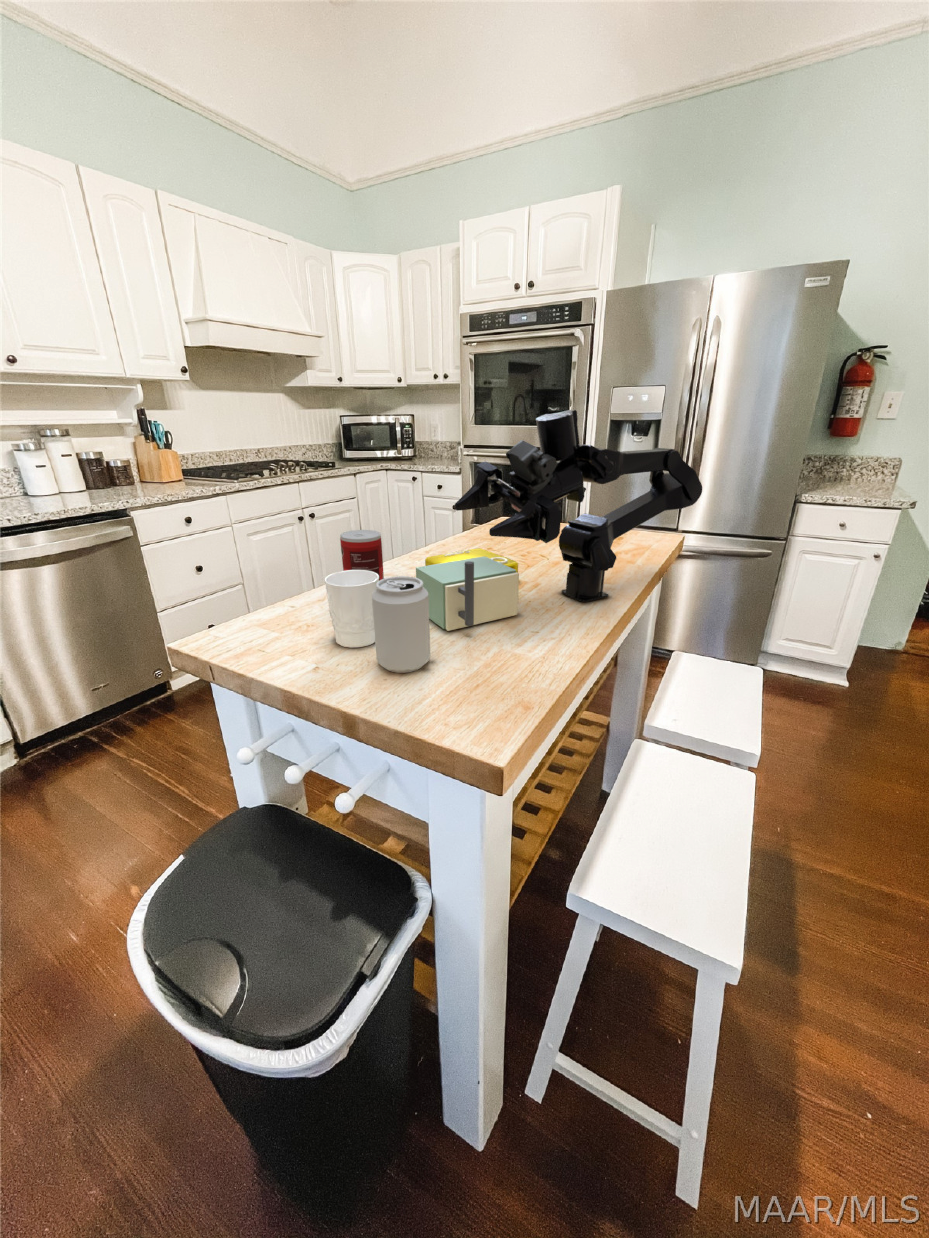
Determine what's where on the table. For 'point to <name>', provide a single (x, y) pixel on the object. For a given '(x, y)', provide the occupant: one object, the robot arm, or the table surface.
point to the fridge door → (480, 599)
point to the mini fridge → (453, 580)
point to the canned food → (362, 551)
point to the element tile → (468, 555)
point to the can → (401, 623)
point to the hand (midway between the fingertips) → (472, 519)
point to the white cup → (352, 606)
